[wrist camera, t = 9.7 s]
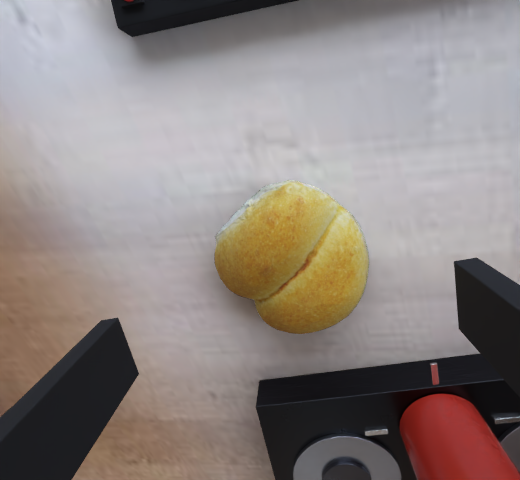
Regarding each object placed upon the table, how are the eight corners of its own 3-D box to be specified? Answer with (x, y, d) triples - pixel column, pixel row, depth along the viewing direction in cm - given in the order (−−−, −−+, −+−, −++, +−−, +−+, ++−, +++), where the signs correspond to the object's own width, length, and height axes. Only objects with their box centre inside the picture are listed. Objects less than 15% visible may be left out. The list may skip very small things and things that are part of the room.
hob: (608, 313, 20) (653, 338, 18) (600, 463, 24) (637, 502, 21) (254, 360, 24) (249, 386, 21) (286, 486, 27) (286, 522, 24)
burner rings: (617, 406, 19) (627, 414, 19) (611, 497, 21) (620, 507, 21) (283, 438, 22) (283, 446, 22) (303, 516, 24) (303, 525, 24)
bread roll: (297, 338, 23) (297, 378, 19) (200, 247, 22) (180, 270, 18) (395, 260, 21) (418, 287, 17) (294, 153, 20) (293, 156, 16)
